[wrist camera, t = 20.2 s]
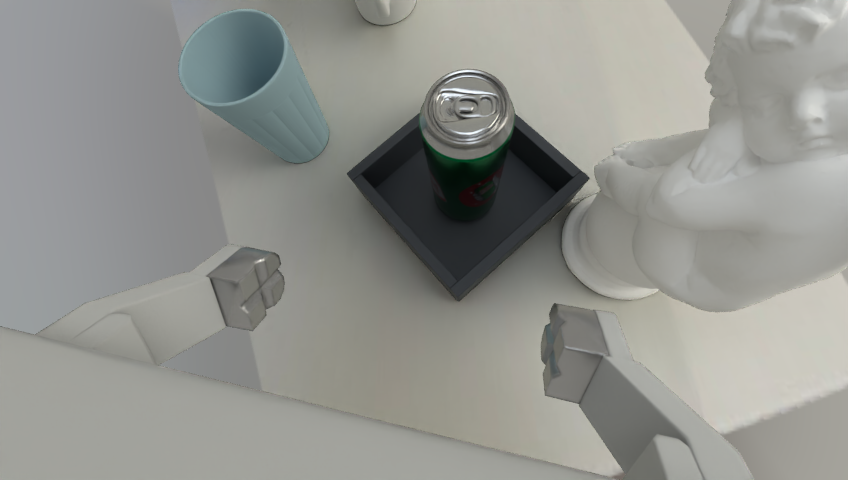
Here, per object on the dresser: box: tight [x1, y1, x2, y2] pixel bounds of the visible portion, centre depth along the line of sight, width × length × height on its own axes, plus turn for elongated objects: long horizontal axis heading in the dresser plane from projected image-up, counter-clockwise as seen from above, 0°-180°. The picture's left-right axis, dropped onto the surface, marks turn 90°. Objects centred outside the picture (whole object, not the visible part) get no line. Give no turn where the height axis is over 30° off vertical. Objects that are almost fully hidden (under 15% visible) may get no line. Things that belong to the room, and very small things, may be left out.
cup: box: [178, 9, 329, 163], centre depth 28 cm, size 8×8×10 cm
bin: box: [347, 113, 589, 302], centre depth 28 cm, size 13×13×4 cm
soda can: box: [419, 69, 515, 221], centre depth 23 cm, size 5×5×12 cm
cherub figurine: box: [562, 0, 848, 312], centre depth 16 cm, size 12×12×22 cm
